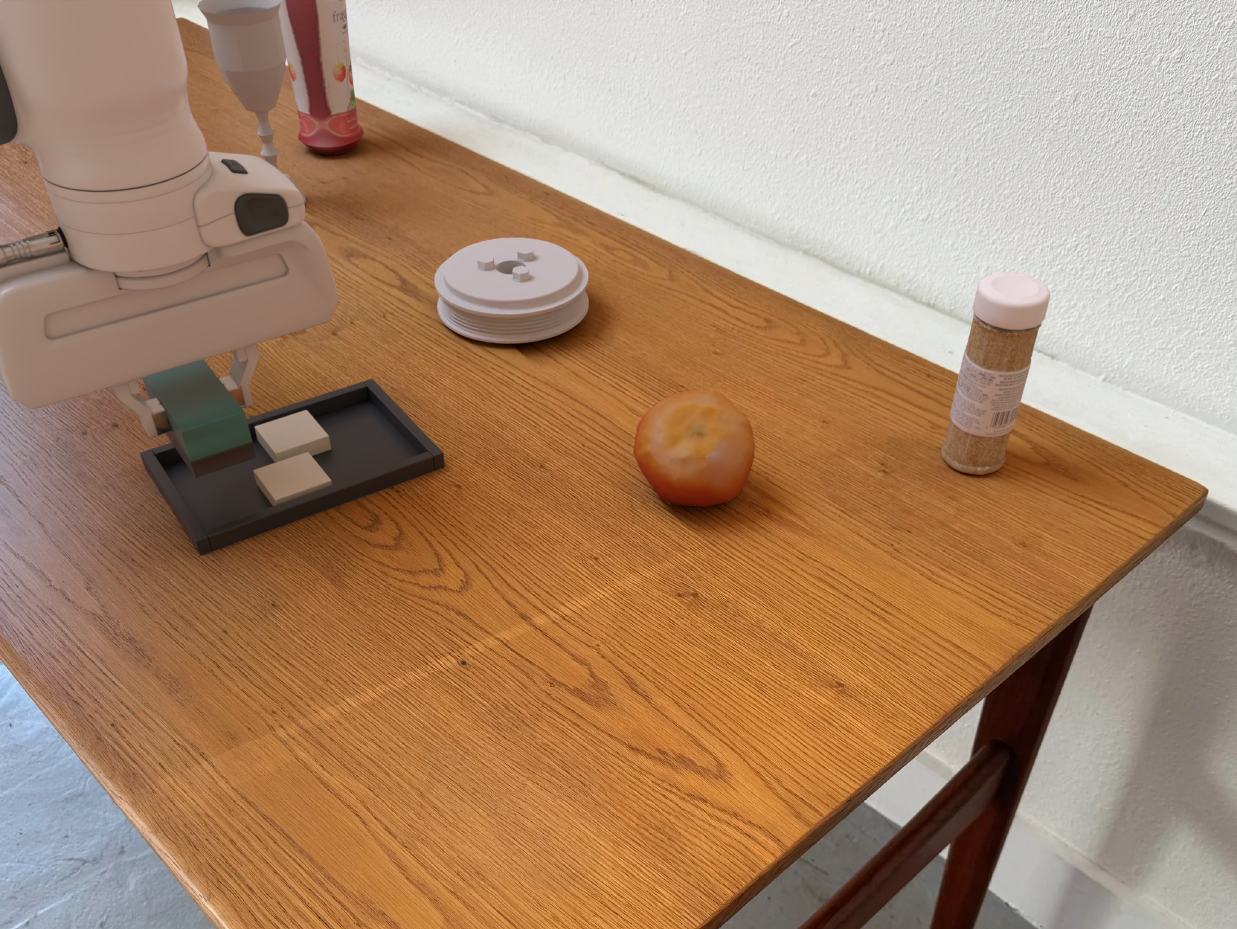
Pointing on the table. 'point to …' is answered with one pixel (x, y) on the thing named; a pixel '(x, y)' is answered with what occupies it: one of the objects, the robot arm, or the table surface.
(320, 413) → the tray
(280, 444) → the chip
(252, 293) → the robot arm
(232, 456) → the eraser
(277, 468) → the chip
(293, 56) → the red and white bottle
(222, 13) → the chalice
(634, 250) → the table surface
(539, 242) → the lid
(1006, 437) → the sprinkles bottle
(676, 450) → the fruit
